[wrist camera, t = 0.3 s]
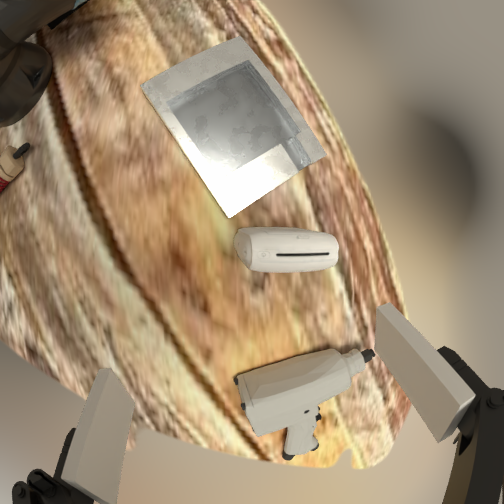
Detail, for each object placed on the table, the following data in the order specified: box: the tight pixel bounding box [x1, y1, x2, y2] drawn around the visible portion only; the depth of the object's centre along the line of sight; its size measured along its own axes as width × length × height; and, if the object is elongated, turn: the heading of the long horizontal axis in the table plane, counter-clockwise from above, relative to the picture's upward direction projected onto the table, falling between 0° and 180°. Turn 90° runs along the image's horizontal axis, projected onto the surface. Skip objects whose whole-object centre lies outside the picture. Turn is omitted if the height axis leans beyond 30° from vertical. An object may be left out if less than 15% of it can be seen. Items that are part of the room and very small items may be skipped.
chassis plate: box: [140, 36, 327, 218], centre depth 34 cm, size 22×16×2 cm
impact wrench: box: [234, 348, 375, 460], centre depth 43 cm, size 8×23×25 cm
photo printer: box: [234, 227, 339, 273], centre depth 33 cm, size 10×4×12 cm, turn 89°
